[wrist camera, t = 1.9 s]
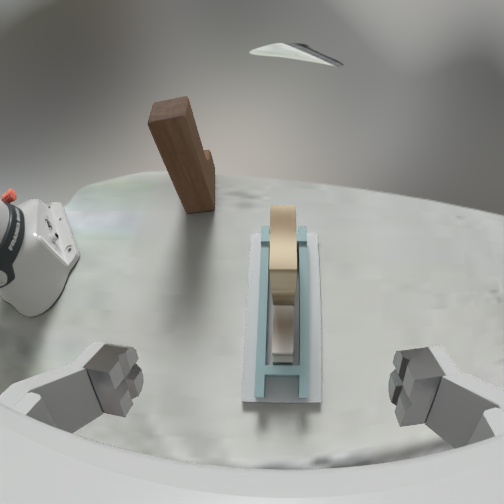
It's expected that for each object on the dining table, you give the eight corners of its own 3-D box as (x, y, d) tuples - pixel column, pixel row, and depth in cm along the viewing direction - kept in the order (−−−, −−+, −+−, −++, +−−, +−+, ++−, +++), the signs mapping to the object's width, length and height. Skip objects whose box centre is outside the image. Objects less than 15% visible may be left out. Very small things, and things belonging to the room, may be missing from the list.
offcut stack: (292, 364, 35) (293, 359, 31) (273, 364, 35) (271, 359, 31) (292, 315, 37) (293, 304, 34) (274, 315, 38) (273, 304, 34)
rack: (320, 402, 33) (324, 401, 29) (242, 401, 34) (237, 400, 30) (316, 236, 43) (319, 220, 40) (251, 237, 44) (248, 221, 41)
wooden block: (189, 171, 52) (157, 83, 36) (215, 167, 51) (191, 76, 36) (186, 214, 47) (146, 124, 31) (215, 211, 47) (184, 116, 31)
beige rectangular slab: (294, 307, 38) (297, 269, 28) (273, 307, 38) (269, 269, 28) (293, 256, 41) (295, 205, 31) (274, 256, 41) (270, 205, 32)
